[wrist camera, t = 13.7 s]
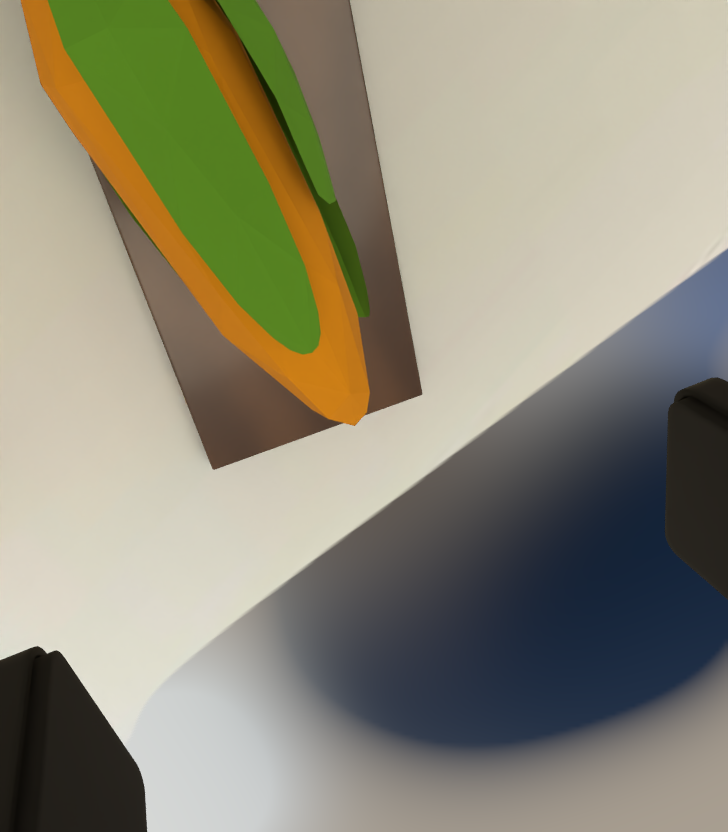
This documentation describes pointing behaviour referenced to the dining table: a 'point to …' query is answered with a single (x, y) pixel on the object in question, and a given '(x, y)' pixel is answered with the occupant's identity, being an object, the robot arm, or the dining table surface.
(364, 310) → the corn
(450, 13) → the dining table surface
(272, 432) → the board
